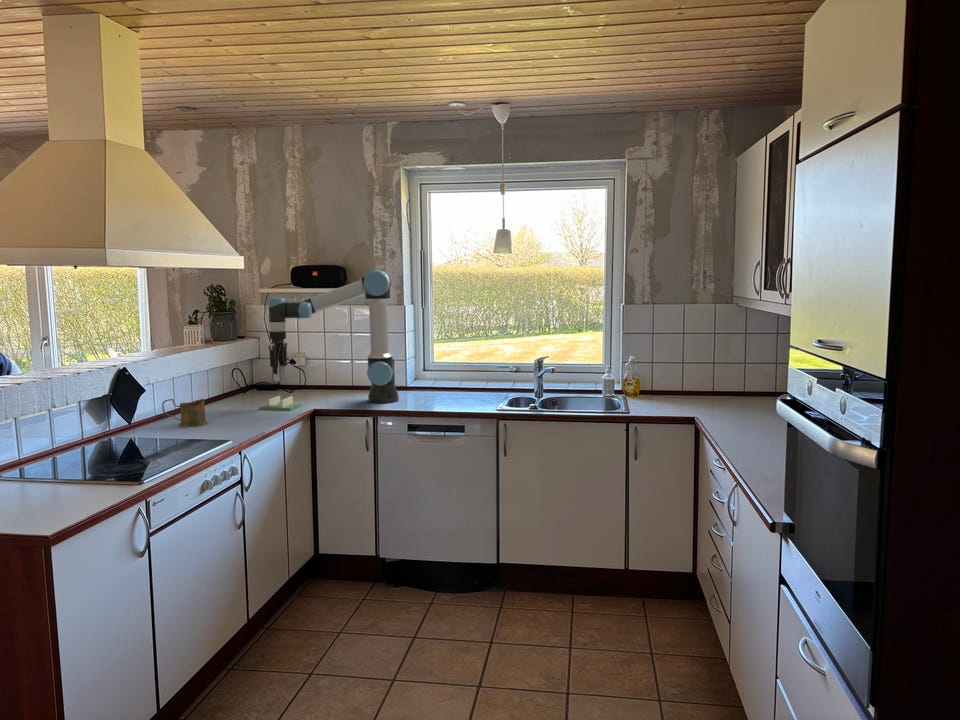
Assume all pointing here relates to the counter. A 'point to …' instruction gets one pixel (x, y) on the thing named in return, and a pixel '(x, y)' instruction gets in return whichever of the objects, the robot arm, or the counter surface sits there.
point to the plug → (280, 373)
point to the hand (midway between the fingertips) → (279, 379)
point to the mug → (191, 413)
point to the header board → (280, 404)
